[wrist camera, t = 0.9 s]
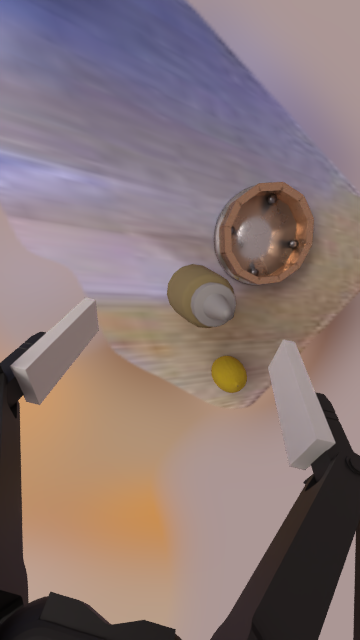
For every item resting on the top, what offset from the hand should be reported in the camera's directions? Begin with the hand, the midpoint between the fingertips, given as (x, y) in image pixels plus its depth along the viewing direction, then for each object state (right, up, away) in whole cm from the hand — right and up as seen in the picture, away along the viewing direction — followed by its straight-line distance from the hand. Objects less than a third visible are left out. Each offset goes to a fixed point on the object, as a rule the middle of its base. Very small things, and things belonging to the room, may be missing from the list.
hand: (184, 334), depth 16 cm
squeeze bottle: (+1, +6, +21) cm, 22 cm away
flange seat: (+13, +14, +21) cm, 28 cm away
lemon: (+7, -7, +26) cm, 28 cm away
